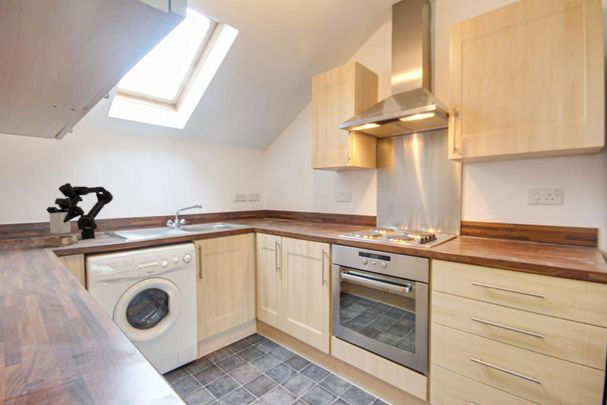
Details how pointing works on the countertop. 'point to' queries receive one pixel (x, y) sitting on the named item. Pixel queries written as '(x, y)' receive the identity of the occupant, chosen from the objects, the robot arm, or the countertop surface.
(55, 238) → the beech crate
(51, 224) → the grey tote
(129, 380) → the countertop surface
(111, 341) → the countertop surface
